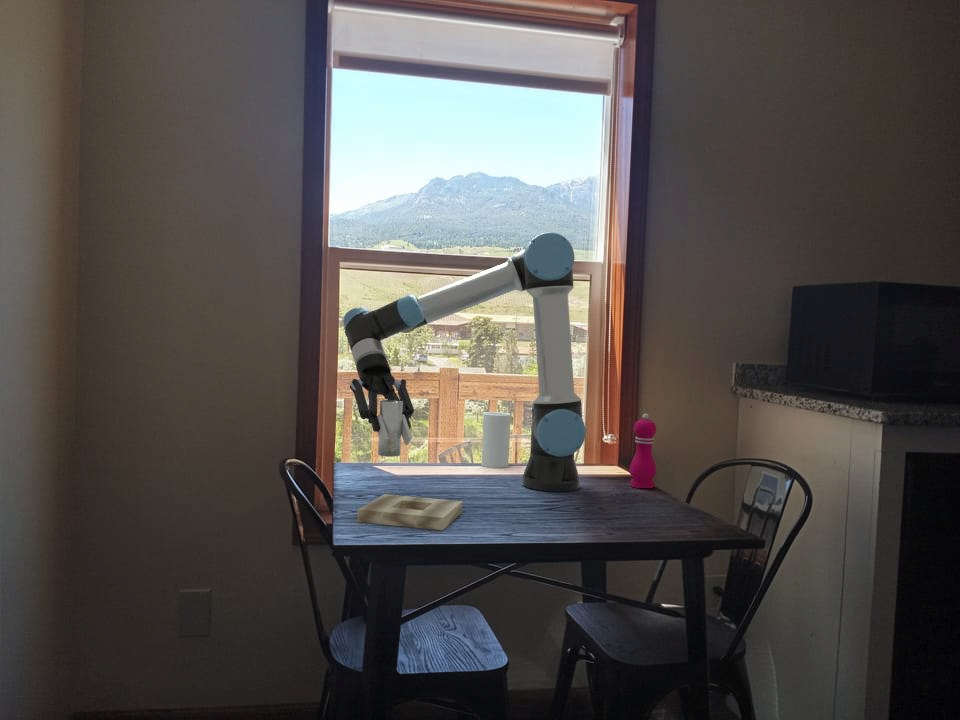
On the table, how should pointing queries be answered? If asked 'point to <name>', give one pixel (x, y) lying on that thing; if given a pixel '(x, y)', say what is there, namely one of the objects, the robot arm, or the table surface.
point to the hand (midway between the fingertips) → (396, 441)
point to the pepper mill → (643, 454)
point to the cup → (496, 439)
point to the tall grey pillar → (391, 427)
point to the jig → (410, 512)
